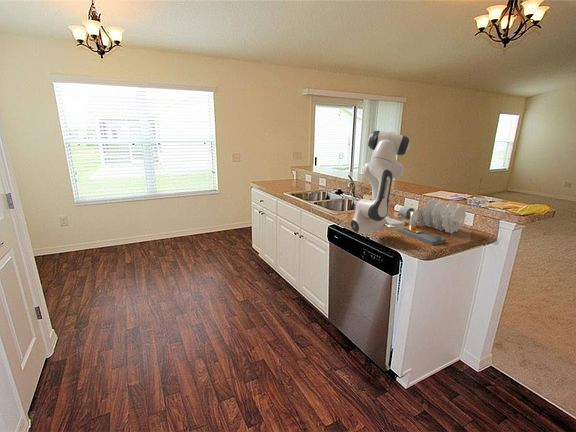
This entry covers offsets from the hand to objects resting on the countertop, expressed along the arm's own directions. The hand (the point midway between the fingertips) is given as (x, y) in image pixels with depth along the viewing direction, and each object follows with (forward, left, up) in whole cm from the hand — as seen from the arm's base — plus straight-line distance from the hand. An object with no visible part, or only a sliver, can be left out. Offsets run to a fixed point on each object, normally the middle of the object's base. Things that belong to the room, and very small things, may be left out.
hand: (397, 220), depth 164 cm
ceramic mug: (-11, +43, -10) cm, 46 cm away
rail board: (+10, +9, -10) cm, 17 cm away
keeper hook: (+20, +4, -8) cm, 22 cm away
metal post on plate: (+5, +11, -7) cm, 14 cm away
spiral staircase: (+14, +30, -10) cm, 35 cm away
